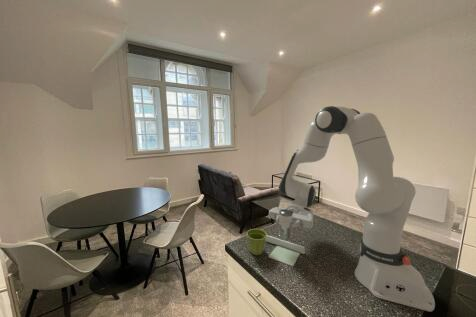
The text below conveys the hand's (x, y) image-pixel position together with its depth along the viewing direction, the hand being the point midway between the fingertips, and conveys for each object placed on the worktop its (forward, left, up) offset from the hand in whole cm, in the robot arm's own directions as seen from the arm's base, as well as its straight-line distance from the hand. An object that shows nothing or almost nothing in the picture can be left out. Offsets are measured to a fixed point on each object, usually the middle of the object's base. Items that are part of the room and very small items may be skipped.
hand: (284, 223), depth 85 cm
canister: (0, -1, -6) cm, 6 cm away
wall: (+3, -7, -15) cm, 17 cm away
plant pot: (+12, +3, -16) cm, 20 cm away
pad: (0, -1, -15) cm, 16 cm away
